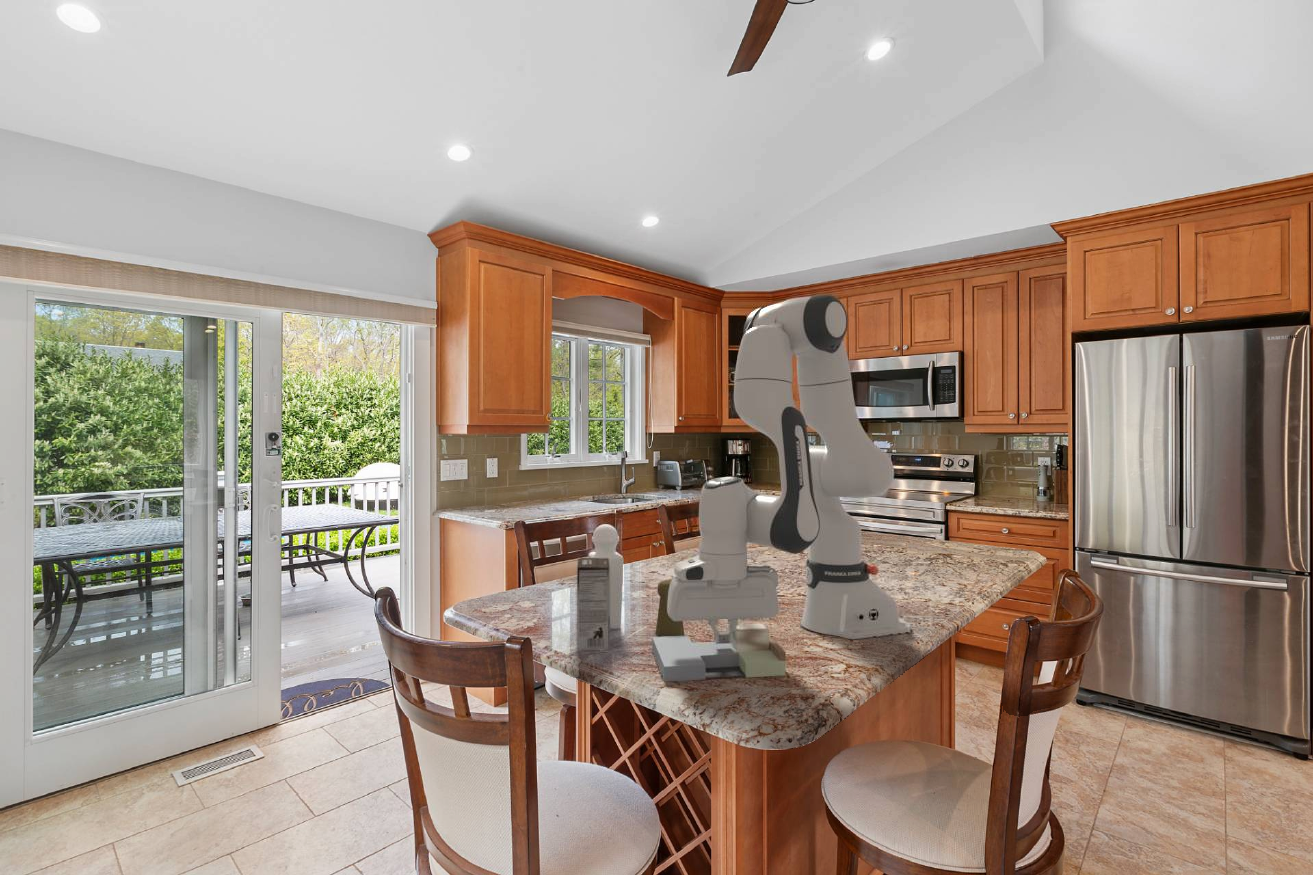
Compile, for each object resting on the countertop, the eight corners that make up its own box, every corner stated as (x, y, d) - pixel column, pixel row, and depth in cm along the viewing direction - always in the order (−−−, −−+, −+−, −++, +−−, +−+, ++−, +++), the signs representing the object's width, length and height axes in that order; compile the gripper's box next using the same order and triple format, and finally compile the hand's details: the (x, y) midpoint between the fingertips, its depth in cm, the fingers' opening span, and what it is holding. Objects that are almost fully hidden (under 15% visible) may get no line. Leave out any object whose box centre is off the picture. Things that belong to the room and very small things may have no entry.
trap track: (758, 645, 126) (758, 624, 126) (785, 675, 110) (785, 651, 110) (652, 650, 123) (652, 629, 123) (664, 681, 107) (664, 657, 107)
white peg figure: (623, 628, 136) (623, 525, 136) (593, 631, 134) (593, 526, 134) (616, 620, 143) (616, 521, 143) (587, 623, 141) (587, 523, 141)
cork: (681, 638, 130) (681, 584, 130) (652, 636, 131) (652, 583, 131) (686, 629, 136) (686, 578, 136) (658, 628, 137) (658, 576, 137)
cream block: (761, 642, 120) (761, 623, 120) (769, 650, 115) (769, 630, 115) (730, 643, 119) (730, 624, 119) (736, 651, 114) (736, 632, 114)
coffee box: (578, 636, 132) (578, 557, 132) (609, 635, 132) (609, 557, 132) (576, 650, 122) (576, 566, 122) (609, 649, 123) (609, 565, 123)
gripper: (772, 561, 121) (772, 635, 121) (665, 564, 118) (665, 639, 118) (783, 568, 115) (783, 645, 115) (671, 571, 112) (670, 650, 112)
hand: (722, 642), depth 116 cm, fingers closed
